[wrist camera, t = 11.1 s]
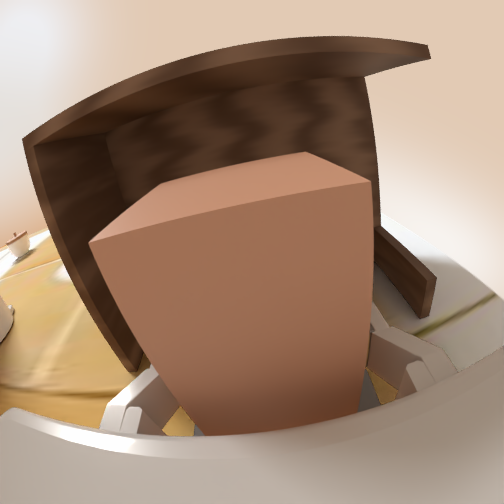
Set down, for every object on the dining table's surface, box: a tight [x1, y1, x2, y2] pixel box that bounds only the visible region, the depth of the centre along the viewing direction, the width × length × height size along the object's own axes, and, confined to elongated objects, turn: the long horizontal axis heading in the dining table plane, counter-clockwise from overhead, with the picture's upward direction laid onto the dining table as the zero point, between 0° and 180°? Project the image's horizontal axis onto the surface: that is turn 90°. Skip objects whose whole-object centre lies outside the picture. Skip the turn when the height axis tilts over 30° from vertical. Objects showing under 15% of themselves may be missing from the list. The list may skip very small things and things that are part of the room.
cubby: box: [22, 36, 437, 371], centre depth 21 cm, size 27×12×21 cm, turn 92°
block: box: [88, 152, 374, 436], centre depth 9 cm, size 5×5×14 cm
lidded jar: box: [6, 231, 30, 258], centre depth 76 cm, size 11×11×9 cm
